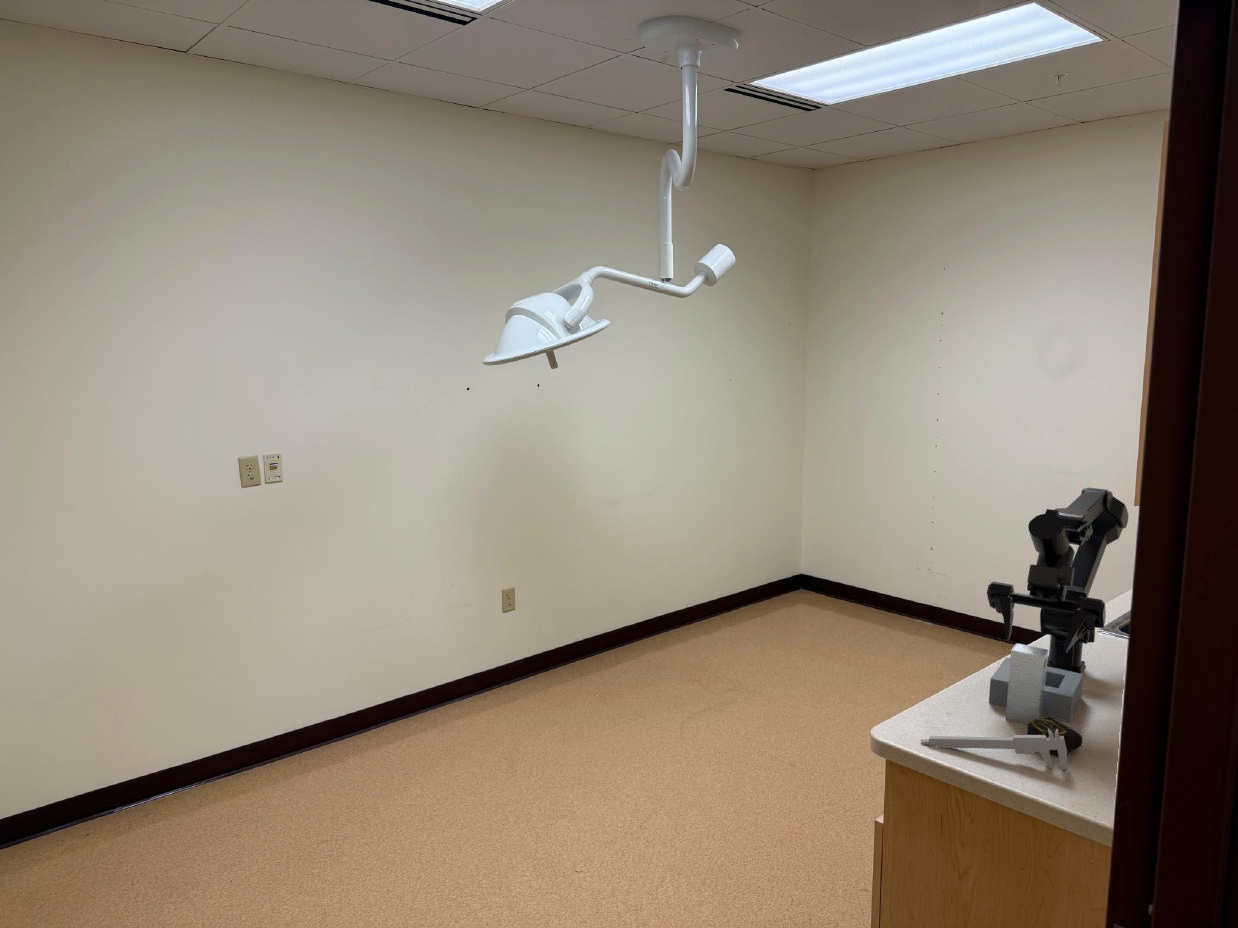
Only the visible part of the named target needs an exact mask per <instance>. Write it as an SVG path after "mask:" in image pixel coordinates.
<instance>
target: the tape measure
mask: <svg viewBox="0 0 1238 928" xmlns="http://www.w3.org/2000/svg"><path fill="white" fill-rule="evenodd" d="M1048 729H1050V731H1051V732H1052V733H1053V735H1054V738H1055V731H1056V729H1058V733H1059V736H1064V741H1065V745H1066V749H1067V753H1070V752H1072V751H1074V750H1078V749H1080V748H1081V747H1082V744H1083V741H1084V740H1083V736H1082V735H1081V734H1080V733H1078V732H1077V731H1076V730H1074V729H1072V728H1070V727H1069V726H1067V725H1065V724H1063V723H1062V722H1060V721H1057V719H1055V718H1051V717H1047V716H1045V717H1044V718H1042V719H1039V718H1038V719H1034V720H1032V721H1031V722H1030V723H1029V724H1028V725H1027V731H1026V735H1046V738H1049V733H1048ZM1049 752H1050V754H1058V751H1057V750H1049Z"/></svg>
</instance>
